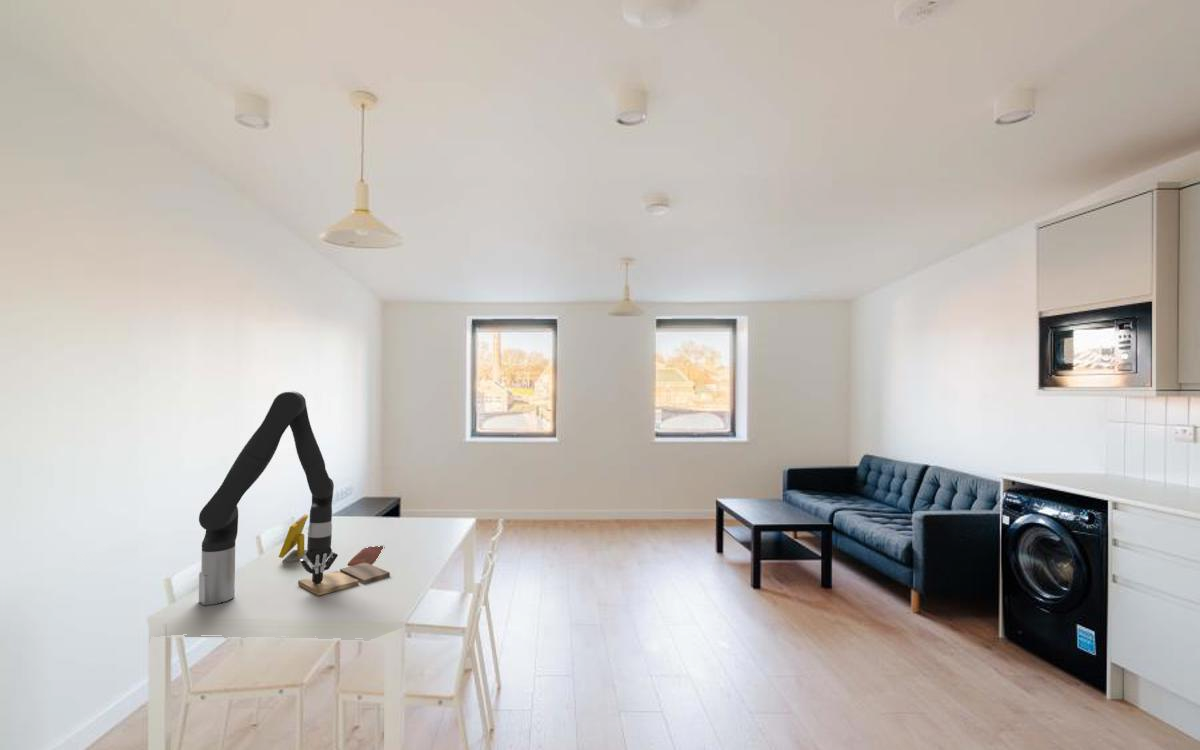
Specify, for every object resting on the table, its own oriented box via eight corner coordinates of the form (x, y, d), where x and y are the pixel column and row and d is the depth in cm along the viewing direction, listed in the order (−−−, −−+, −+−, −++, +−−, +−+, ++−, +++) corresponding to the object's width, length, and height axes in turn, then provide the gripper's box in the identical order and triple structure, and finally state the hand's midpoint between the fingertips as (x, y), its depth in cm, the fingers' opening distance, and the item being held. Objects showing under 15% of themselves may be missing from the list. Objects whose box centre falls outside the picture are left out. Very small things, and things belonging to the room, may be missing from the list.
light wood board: (318, 595, 182) (318, 591, 182) (298, 584, 192) (298, 580, 192) (358, 584, 193) (358, 580, 193) (337, 574, 203) (337, 570, 203)
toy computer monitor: (293, 550, 233) (294, 514, 233) (313, 549, 235) (314, 513, 235) (278, 565, 213) (278, 525, 214) (300, 564, 215) (300, 524, 216)
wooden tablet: (372, 567, 214) (372, 563, 214) (345, 568, 213) (346, 564, 213) (388, 546, 240) (388, 543, 240) (364, 547, 239) (364, 543, 239)
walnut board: (363, 584, 194) (363, 580, 194) (340, 573, 205) (340, 569, 205) (389, 577, 201) (389, 572, 201) (365, 566, 213) (365, 562, 213)
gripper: (304, 539, 183) (301, 591, 182) (343, 532, 193) (341, 581, 192) (295, 535, 187) (292, 585, 187) (333, 528, 198) (331, 576, 197)
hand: (317, 583), depth 190 cm, fingers closed
